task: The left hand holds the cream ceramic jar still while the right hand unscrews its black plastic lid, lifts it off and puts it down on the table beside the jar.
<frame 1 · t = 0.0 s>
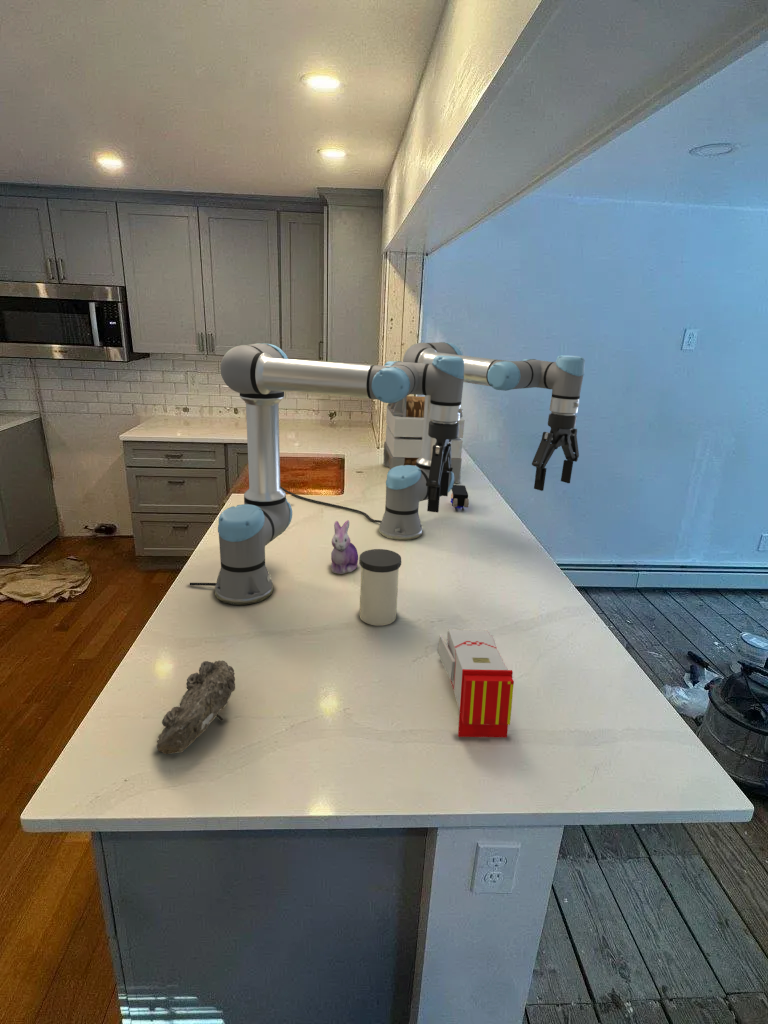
left hand: (437, 503, 146), 28 cm above the counter, tool pointing down, fingers open, 13 cm apart
right hand: (552, 485, 166), 28 cm above the counter, tool pointing down, fingers open, 13 cm apart
toy: (469, 691, 119), on the counter
white wooden crate: (419, 473, 275), on the counter
lid: (380, 558, 141), point 16 cm above the counter, screwed on, not yet turned
figurine character: (458, 507, 230), on the counter
fossil: (203, 718, 108), on the counter
figurine: (344, 568, 172), on the counter
jar: (377, 615, 146), on the counter
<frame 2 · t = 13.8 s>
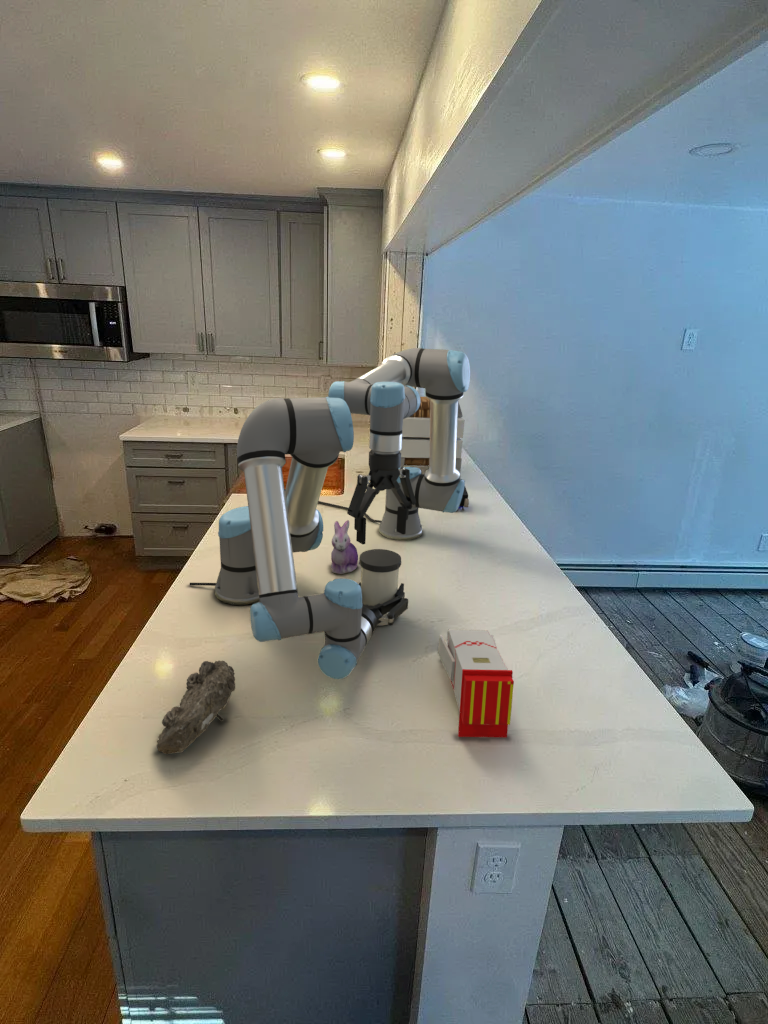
left hand: (383, 584, 148), 7 cm above the counter, tool horizontal, fingers closed on jar, 9 cm apart
right hand: (381, 537, 139), 22 cm above the counter, tool pointing down, fingers open, 12 cm apart
jar: (377, 615, 146), on the counter, touching left hand
everything else where it was.
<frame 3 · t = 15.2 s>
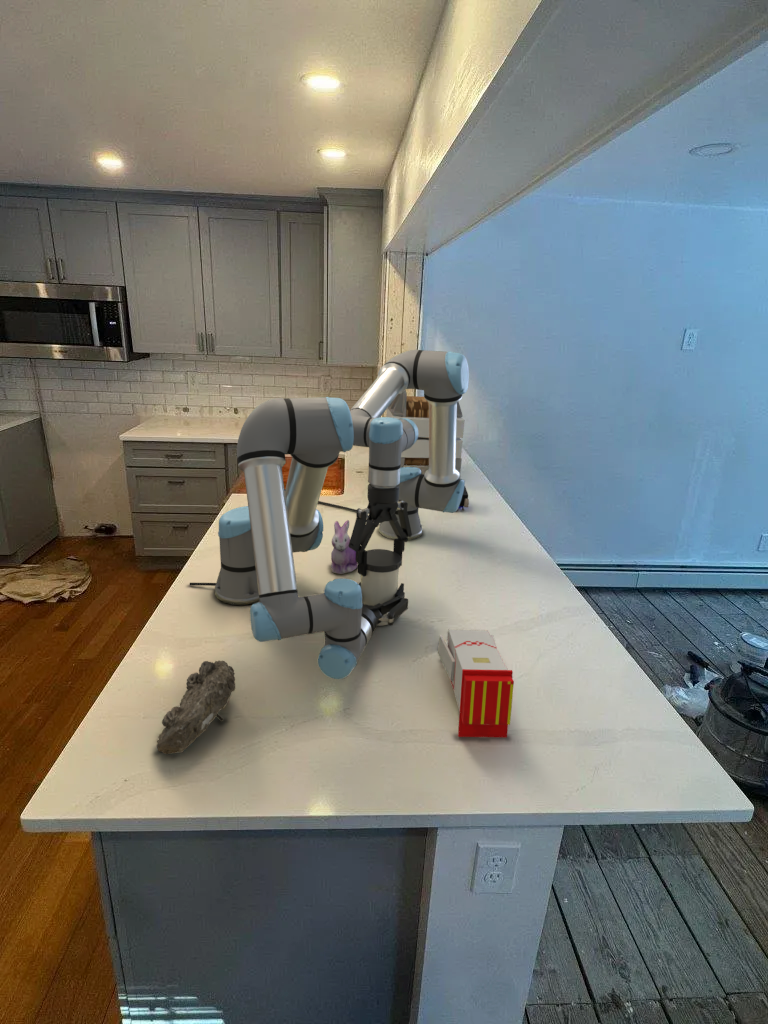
left hand: (383, 584, 148), 7 cm above the counter, tool horizontal, fingers closed on jar, 9 cm apart
right hand: (379, 568, 142), 13 cm above the counter, tool pointing down, fingers closed on lid, 10 cm apart
lid: (380, 558, 141), point 16 cm above the counter, screwed on, not yet turned, touching right hand
jar: (377, 615, 146), on the counter, touching left hand
everything else where it was.
when the right hand's fingers open (14 cm above the counter, at t = 17.0 s): lid stays where it is, point 17 cm above the counter.
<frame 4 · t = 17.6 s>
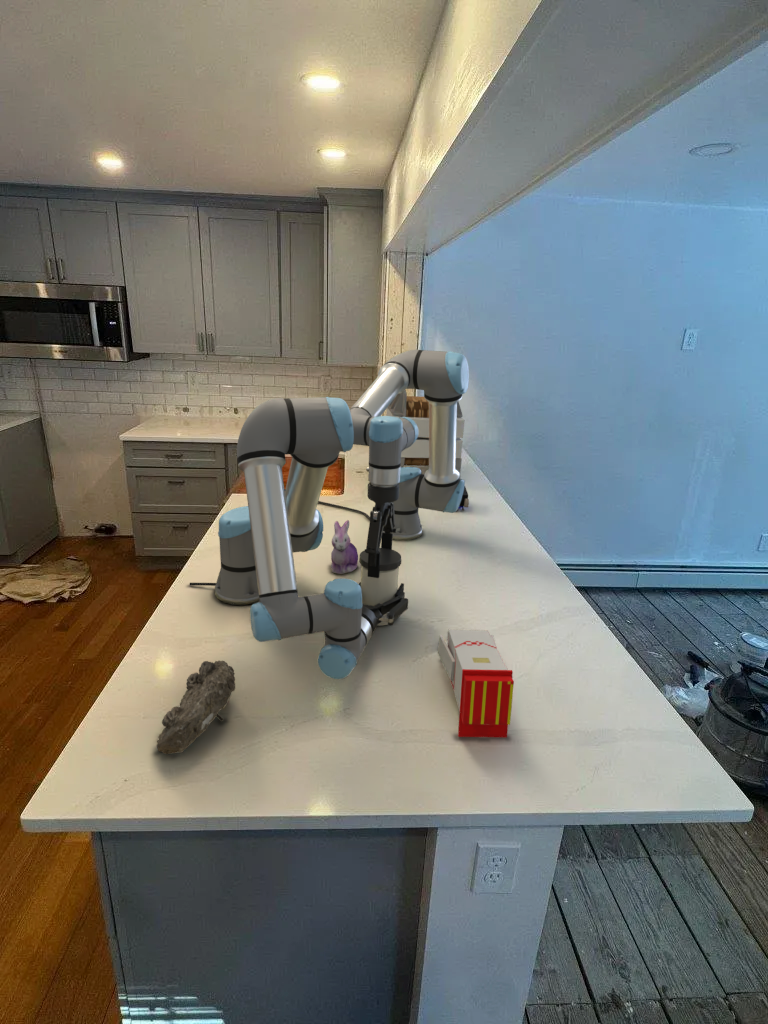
left hand: (383, 584, 148), 7 cm above the counter, tool horizontal, fingers closed on jar, 9 cm apart
right hand: (380, 566, 141), 14 cm above the counter, tool pointing down, fingers open, 12 cm apart
lid: (380, 557, 141), point 17 cm above the counter, turned 113° so far, risen 0.4 cm, still on its thread
jar: (377, 615, 146), on the counter, touching left hand
everything else where it was.
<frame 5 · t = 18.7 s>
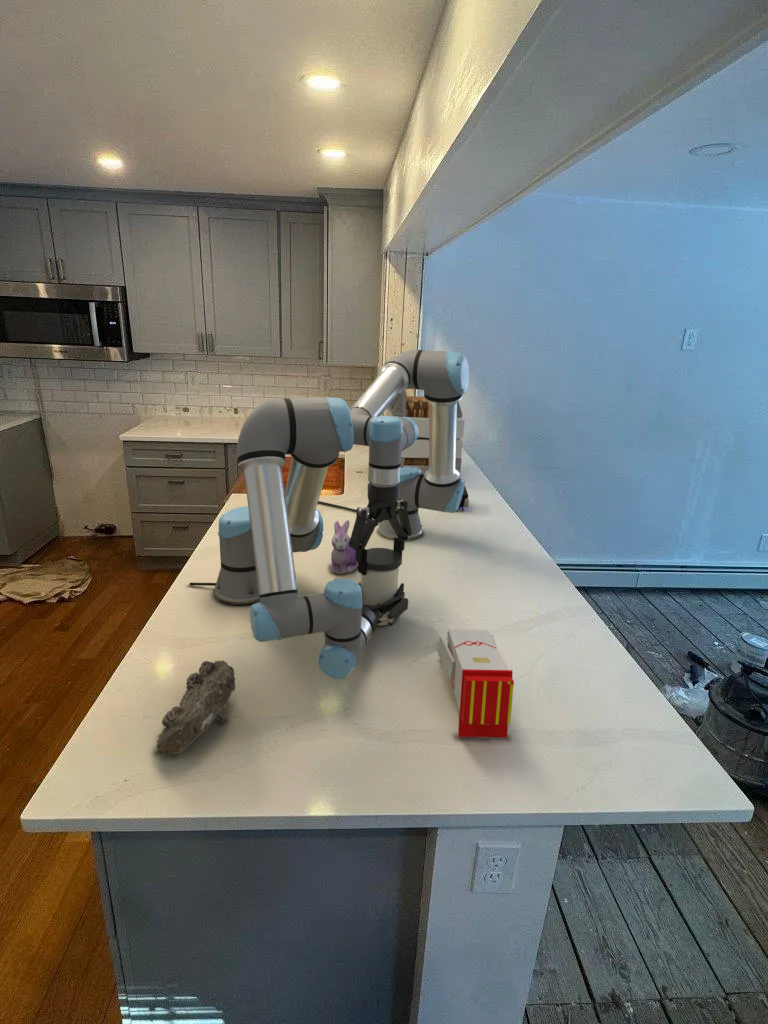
left hand: (383, 584, 148), 7 cm above the counter, tool horizontal, fingers closed on jar, 9 cm apart
right hand: (379, 567, 142), 14 cm above the counter, tool pointing down, fingers closed on lid, 10 cm apart
lid: (380, 557, 141), point 17 cm above the counter, turned 113° so far, risen 0.4 cm, still on its thread, touching right hand
jar: (377, 615, 146), on the counter, touching left hand
everything else where it was.
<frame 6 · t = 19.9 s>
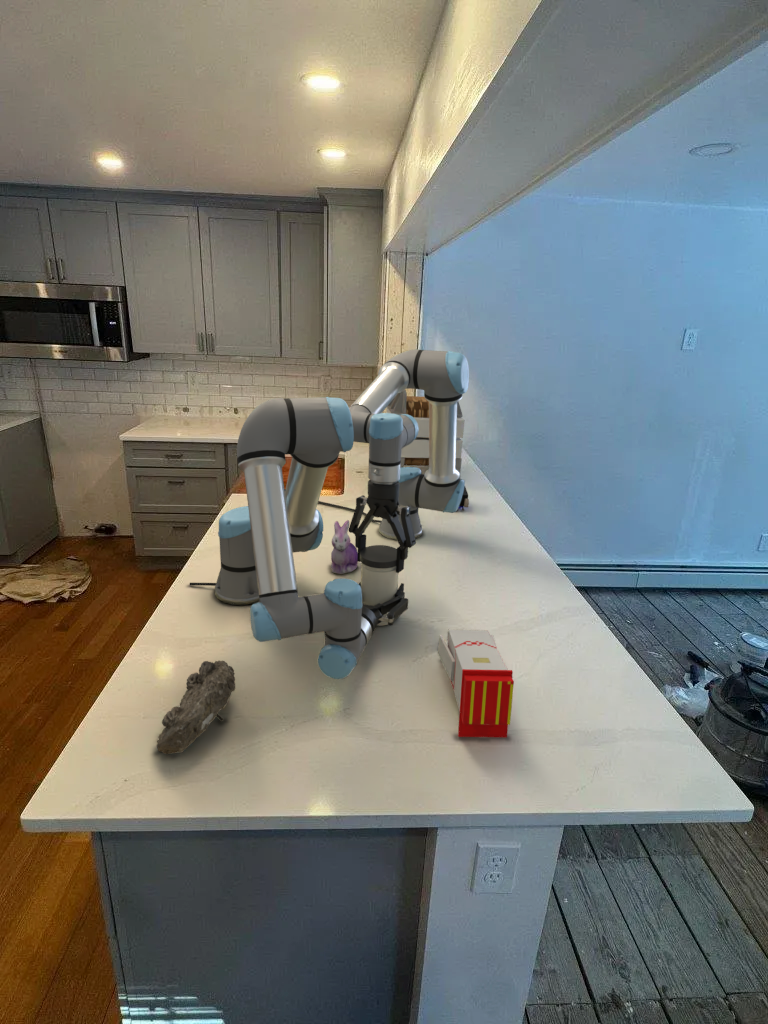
left hand: (383, 584, 148), 7 cm above the counter, tool horizontal, fingers closed on jar, 9 cm apart
right hand: (380, 565, 141), 14 cm above the counter, tool pointing down, fingers closed on lid, 10 cm apart
lid: (380, 554, 140), point 17 cm above the counter, off its thread, touching right hand
jar: (377, 615, 146), on the counter, touching left hand
everything else where it was.
when the right hand's fingers open (0 cm above the counter, at t = 25.2 s): lid drops 2 cm, point 1 cm above the counter.
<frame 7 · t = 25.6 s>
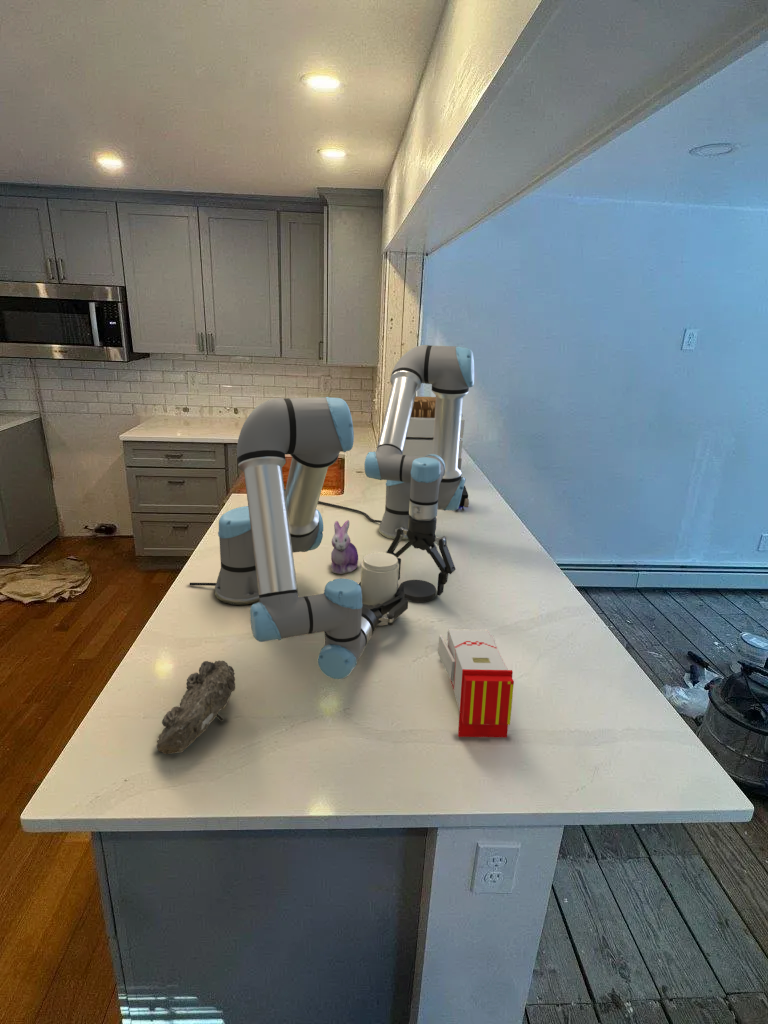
left hand: (383, 584, 148), 7 cm above the counter, tool horizontal, fingers closed on jar, 9 cm apart
right hand: (417, 587, 159), 2 cm above the counter, tool pointing down, fingers open, 13 cm apart
lid: (417, 589, 158), point 1 cm above the counter, off its thread
jar: (377, 615, 146), on the counter, touching left hand
everything else where it was.
when the left hand's fingers open (7 cm above the counter, at t = 26.2 s): jar stays where it is, on the counter.
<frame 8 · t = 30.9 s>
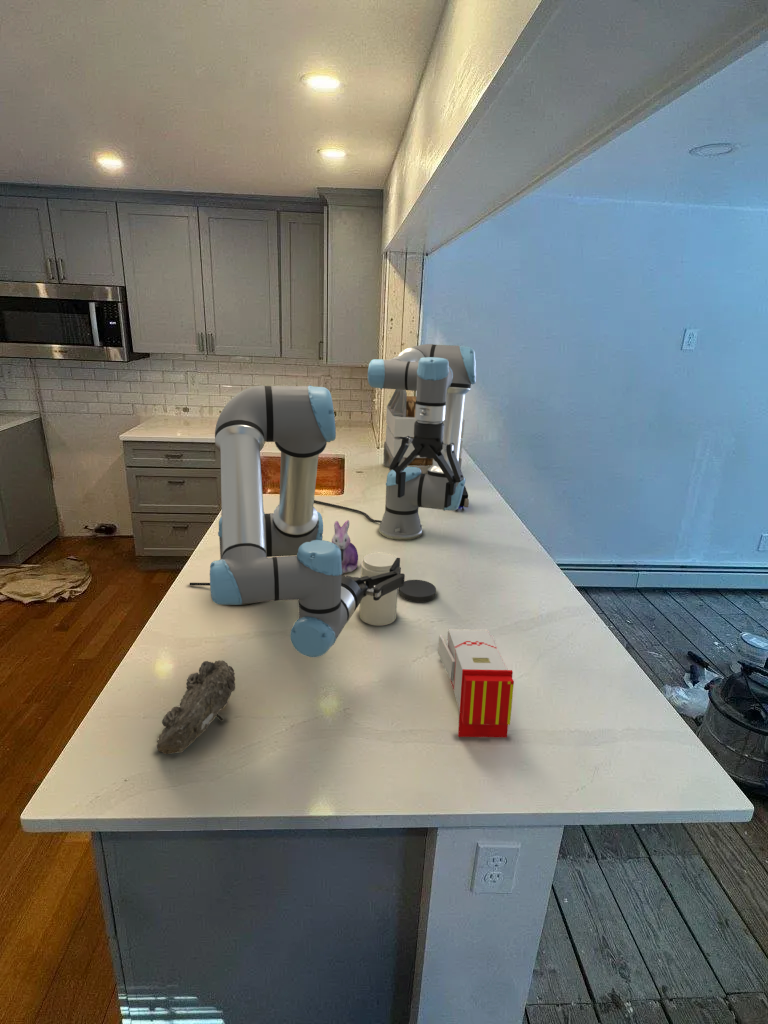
left hand: (369, 558, 130), 20 cm above the counter, tool horizontal, fingers open, 13 cm apart
right hand: (423, 501, 150), 27 cm above the counter, tool pointing down, fingers open, 13 cm apart
jar: (377, 615, 146), on the counter
everything else where it was.
at the end: lid came off its thread; lid point 1.3 cm above the counter; the left hand is holding nothing; the right hand is holding nothing; jar tilted 0°; jar moved 0.0 cm from its start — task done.
